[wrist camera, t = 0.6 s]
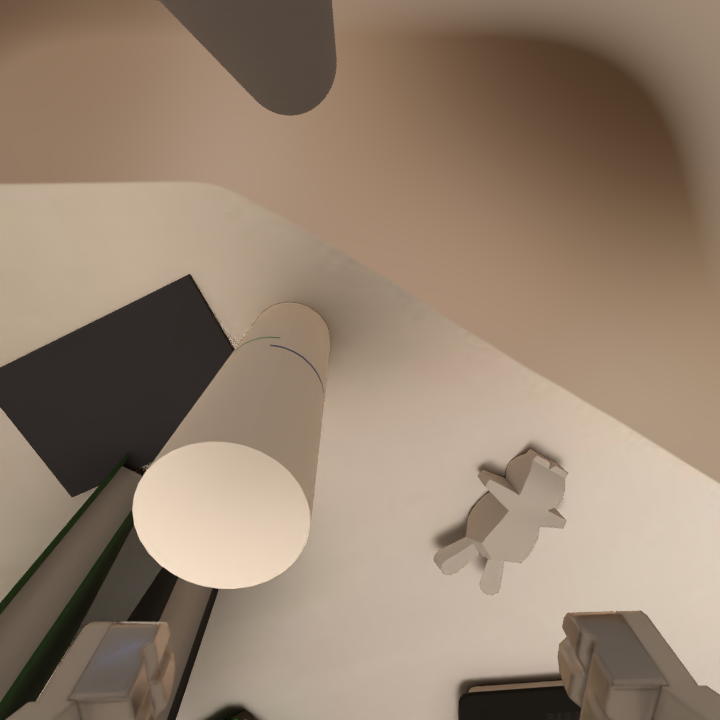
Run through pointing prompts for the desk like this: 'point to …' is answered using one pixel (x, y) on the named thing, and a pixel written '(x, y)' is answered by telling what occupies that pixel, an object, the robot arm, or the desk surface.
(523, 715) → the wireless router
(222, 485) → the cylindrical container
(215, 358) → the mat
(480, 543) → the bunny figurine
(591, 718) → the robot arm
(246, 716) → the toy car
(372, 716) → the desk surface
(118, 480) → the ring binders
